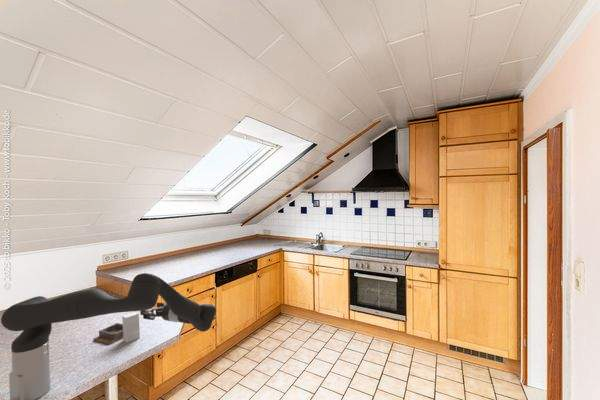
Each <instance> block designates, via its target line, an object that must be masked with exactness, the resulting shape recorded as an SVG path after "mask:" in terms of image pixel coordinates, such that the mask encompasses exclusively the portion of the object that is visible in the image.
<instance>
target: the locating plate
mask: <svg viewBox="0 0 600 400" xmlns="http://www.w3.org/2000/svg"><path fill="white" fill-rule="evenodd" d="M121 339H123V323H120V322H119V323H118V322H116V323H114V324H112V325H110V326H107V327H105V328H103V329H101V330H98V336H96V337H94V338H93V341H94V342H97V343H102V344H104V345H108V346H109V345H111V344H113V343H115V342H117V341H119V340H121Z"/></svg>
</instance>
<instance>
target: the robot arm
mask: <svg viewBox="0 0 600 400" xmlns="http://www.w3.org/2000/svg"><path fill="white" fill-rule="evenodd" d="M159 296H160V298H162V300H163V301H164V302H160V301H159V302H158V300H159ZM155 306H156V307H155ZM154 307H155V308H154ZM139 311H140V313H139V315H141V316H142V318H143V320H150V321H151V320H152V321H153V320H155V318H157V317H158V318H161V319H162V320H164V321H168V322H173V323H181V324H182V323H183V324H191V326H193V328H195V329H196V330H197V331H198V332H207V331H209V330H210V328H212V327H211V326H212V324H213V321H214V318H215V315H216V313H217V308H216V306H214V305H213V304H210V303H203V304H199V303H197V302H196V301H194V300H191V299H189V298H188V297H186V296H184V294H181V293H180V292H178V291H177V290H176V289H175V288H174V287H173V286H171V285H170V284H169V283H167V282H166V281H165V280H163V279H162V278H161V277H160V276H158V275H155V274H153V273H148V272H145V273H138V274H137V275H135V276H134V277H133V279H132V281H131V284H130V287H129V290H128V294H127V296H125V297H122V298H116V297H113V296H112V295H110V294H109V293H107V292H105V291H104V290H101V289H99V288H90V289H83V290H78V291H75V292H71V293H70V292H69V293H68V294H65V295H61V296H58V297H55V298H53V299H48V298H46V297H45V296H42V295H37V296H34V297H31V298H28V299H25V300H22V301H20V302H17V303H14V304H13V305H10V307H8V308H7V309H5V310H4V312H3V313H2V314H1V318H0V323H1V325H2V326H3V327H4V328H5V329H7V330H8V331H12V332H21V331H22V332H21V333H20V334H19V335H18V336H16V338H15V339H14V340H13V341H12V342H11V348H10V349H11V350H10V351H11V372H10V373H8V377H9V381H8V382H9V400H38V399H40V398H41V397H43V396H45V395H46V394H47V393H48V392H49V391H50V389H51V368H50V367H51V366H50V365H51V363H50V339H49V338H50V335H51V332H52V326H53V325H52V324H56V323H62V322H63V323H65V322H70V321H75V320H83V319H84V320H85V319H89V318H93V317H98V316H103V315H105V316H106V315H110V314H118V313H119V314H120V313H128V312H130V313H132V312H139Z"/></svg>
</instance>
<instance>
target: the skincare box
mask: <svg viewBox="0 0 600 400" xmlns="http://www.w3.org/2000/svg"><path fill="white" fill-rule="evenodd" d="M121 319H122V320H121V321H122V324H123V338H122V340H123V342H125V343H127V344H128V343H130V342H133V341H136V340H139V338H141V335H140V334H141V333H140V331H141V330H140V313H138V311H132V312H130V313H127V314H124V315H122V318H121Z"/></svg>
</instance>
